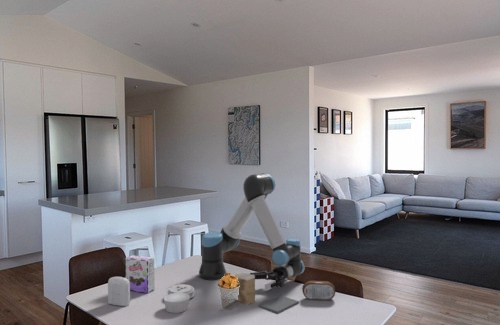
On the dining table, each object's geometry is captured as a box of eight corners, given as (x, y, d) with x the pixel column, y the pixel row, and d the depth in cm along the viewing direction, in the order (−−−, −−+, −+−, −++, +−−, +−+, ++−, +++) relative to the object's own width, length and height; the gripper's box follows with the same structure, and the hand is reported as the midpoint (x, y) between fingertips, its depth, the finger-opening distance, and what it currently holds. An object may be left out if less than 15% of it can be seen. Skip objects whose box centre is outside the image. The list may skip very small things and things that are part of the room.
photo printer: (131, 303, 168) (131, 276, 167) (125, 307, 164) (125, 279, 163) (112, 301, 171) (112, 274, 171) (106, 304, 167) (106, 277, 166)
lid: (199, 296, 175) (199, 286, 175) (178, 305, 166) (178, 294, 166) (183, 290, 184) (183, 280, 184) (162, 297, 175) (161, 287, 174)
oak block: (235, 300, 170) (234, 274, 170) (242, 297, 174) (242, 271, 174) (247, 304, 165) (247, 278, 165) (255, 301, 168) (254, 275, 168)
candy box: (125, 290, 184) (124, 257, 184) (133, 286, 190) (132, 254, 190) (147, 293, 179) (147, 260, 179) (155, 289, 185) (154, 257, 184)
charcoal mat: (258, 306, 163) (258, 304, 163) (280, 296, 174) (280, 295, 174) (277, 313, 155) (277, 311, 155) (299, 303, 166) (299, 301, 166)
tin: (334, 298, 171) (334, 280, 171) (335, 301, 168) (335, 283, 168) (302, 297, 173) (302, 279, 172) (302, 300, 169) (302, 282, 169)
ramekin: (161, 306, 164) (161, 294, 164) (186, 302, 169) (186, 290, 169) (166, 316, 154) (166, 303, 154) (192, 311, 158) (192, 299, 158)
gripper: (302, 286, 180) (275, 298, 165) (264, 275, 197) (236, 285, 182) (302, 271, 180) (274, 282, 164) (264, 261, 197) (235, 270, 181)
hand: (254, 284), depth 173 cm, fingers open, 13 cm apart
